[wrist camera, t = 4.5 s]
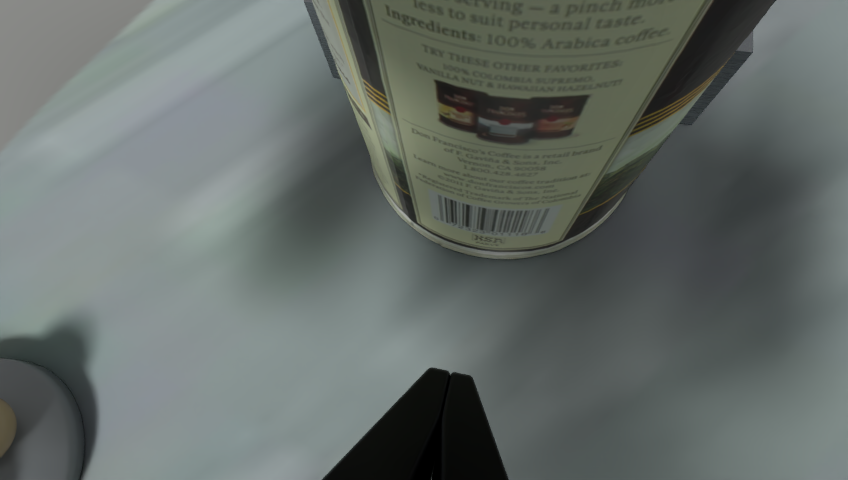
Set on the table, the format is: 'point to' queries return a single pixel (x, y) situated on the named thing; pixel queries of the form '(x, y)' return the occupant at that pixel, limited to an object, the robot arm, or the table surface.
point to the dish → (38, 425)
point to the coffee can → (522, 105)
